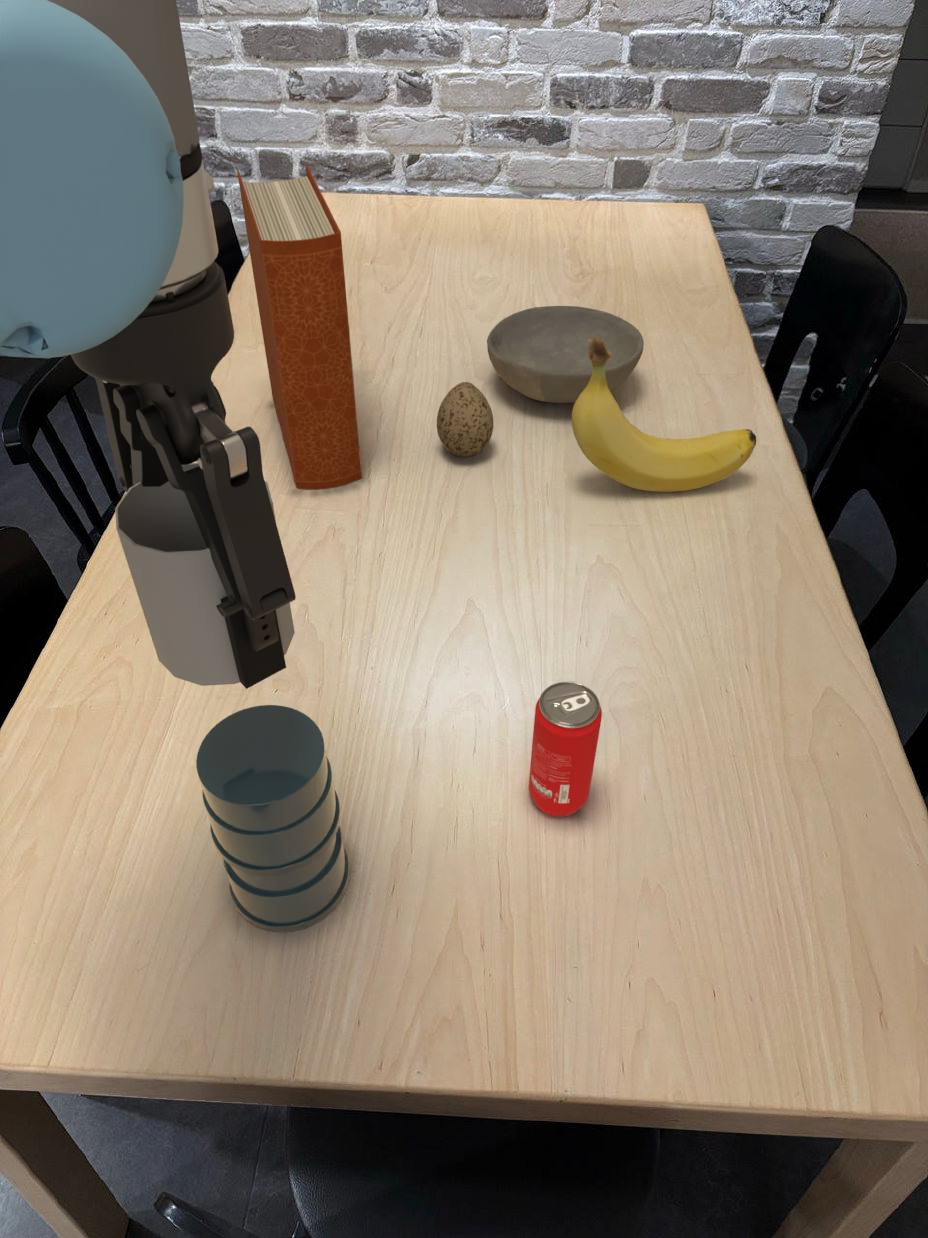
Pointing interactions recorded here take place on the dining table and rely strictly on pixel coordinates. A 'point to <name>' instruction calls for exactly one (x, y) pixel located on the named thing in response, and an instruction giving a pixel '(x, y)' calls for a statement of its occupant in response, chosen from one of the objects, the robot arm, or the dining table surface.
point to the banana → (649, 442)
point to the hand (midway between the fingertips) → (224, 632)
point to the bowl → (561, 350)
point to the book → (304, 327)
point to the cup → (180, 584)
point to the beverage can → (564, 747)
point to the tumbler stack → (274, 816)
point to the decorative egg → (465, 420)
